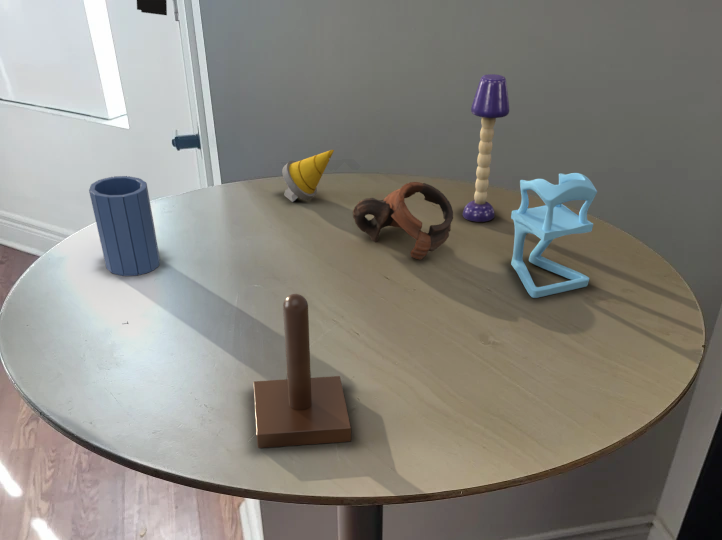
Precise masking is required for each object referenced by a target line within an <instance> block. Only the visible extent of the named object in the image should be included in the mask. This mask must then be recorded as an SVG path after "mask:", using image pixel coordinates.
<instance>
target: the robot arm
mask: <svg viewBox="0 0 722 540" xmlns="http://www.w3.org/2000/svg"><path fill="white" fill-rule="evenodd" d="M167 1H168V0H136V10H138V11H140V12H141V13H144V14H145V13H146V14H151V15H159V16H168V3H167Z"/></svg>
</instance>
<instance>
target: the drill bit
mask: <svg viewBox="0 0 722 540" xmlns="http://www.w3.org/2000/svg"><path fill="white" fill-rule="evenodd" d="M334 152H335V149H330V150H327V151H324V152H321V153H318V154H315V155H313V156H312V155H311V156H309V157H307V158H304V159H301V160H298V161H297V160H296V161H295V160H289V161H288V162H287V163H286V164H284V166H283V167H282V170H281V171H282V172H281V173H282V177H283V181H284V182H285V184H286V186H287V188H286V189H284V194H283V196H284V197H286V198H287V199H288V200H289V201H290V202H292V203H294V202H295V201H296V200H297V199H298V198H299V199H301V200H303V201H310V200H311V199H313V198H314V197H315V196H316V195H317V192H318V188H317V187H318V185H319V183H320V181H321V179H322V177H323V174H324V172H325V170H326V168H327V166H328V164H329V162H330V159H331V158H332V156H333V154H334Z"/></svg>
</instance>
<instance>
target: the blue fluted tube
mask: <svg viewBox="0 0 722 540" xmlns="http://www.w3.org/2000/svg"><path fill="white" fill-rule="evenodd" d="M88 193H89V198H90V201H91V206H92V210H93V211H92V212H93V215H94V219H95V223H96V229H97V233H98V237H99V241H100V245H101V249H102V255H103V260H104V263H105V267H106V269H107V271H109V272H110V273H111V274H113V275H118V276H123V277H129V276H131V277H132V276H141V275H144V274H148V273H151V272H153V271H154V270H155V269H157V268H158V267H159V266H160V263H161V259H160V251H159V246H158V241H157V240H158V239H157V235H156V227H155V223H154V222H155V221H154V218H153V217H154V216H153V211H152V206H151V200H150V193H149V188H148V183H147V182H146V181H145V180H143V179H142V178H140V177H135V176H129V175H117V176H115V175H114V176H110V177H105V178H104V177H103V178H100V179H98V180H96V181H94V182H93V183H91V184H90V186H89V189H88Z"/></svg>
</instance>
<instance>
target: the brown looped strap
mask: <svg viewBox="0 0 722 540" xmlns="http://www.w3.org/2000/svg"><path fill="white" fill-rule="evenodd" d="M416 193H420V194H422V195H423V197H424V199H423V200H424V201H426V202H429V203H433V204H435V205H438V206H439V207H440V209H441V212H442V215H443V216H442V217H443V220H444V221H443V222H442V223H439V224H431V225H430V226H429V228H428V232H426V231H422V228H423V222H422V221H421V220H420V219H419V218H417V217H416V216H415V215H413V214H412V212H411V211H410V210H409V208H408V206H407V203H406V202H405V199H408V198H410V197H411V196H414V195H415V194H416ZM367 215H371V216H373V217H372V218H371V219H368V218H367V217H366V216H367ZM352 217H353V220H354V223H355V225H356V227H357V228H358V229H359V230H360V231H361V232H363V233H365V234H367V235H368V236H369V237H370V240H371V241H372V242H373V243H378V242H379V239H380V238H379V237H380V234H381V230H382V229H384V228H386V227H394V228H400V229H403V230H404V232H406V233H407V234H408V236H410V237H411V238H413V239H414V240H415V244H414V246H413V248H412V249H411V251H410V257H411V258H413V259H416V260H419V261H420V260H423V259H424V258H425V257H426V256H427V255H428V253H429V252H430V253H431V252H434V251H435V250H436V249H438V248H439V247H441V246H442V245H444V243H446V241H447V240H448V238H449V236H450V232H451V227H452V225H451V224H452V222H453V220H454V210H453V206H452V204H451V202H450V201H449V200H448V197H446V195H445V194H444V193H443V192H442V191H441V190H440V189H439V188H436V187H435V186H433V185H431V184H428V183H425V182H420V181H410V182H408V183H405V184H403V185H402V186H401V187H400V188H398V189H395V190H393V191H391V192H390V193H388V194H387V195H386V196H385V197H384V198H383V199H378V198H376V197H367V198H363V199H362V200H359V201H358V202H357V204H356V205H355V206H354V208H353V210H352Z"/></svg>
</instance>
